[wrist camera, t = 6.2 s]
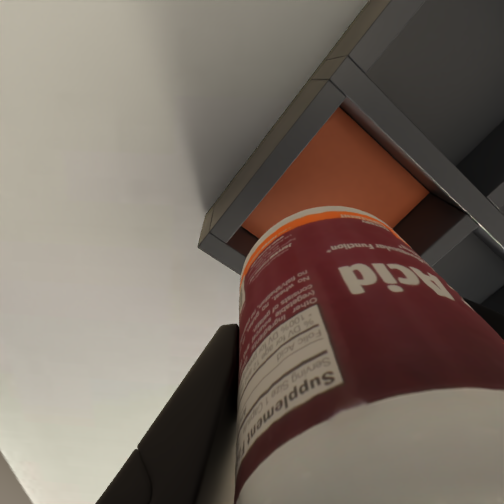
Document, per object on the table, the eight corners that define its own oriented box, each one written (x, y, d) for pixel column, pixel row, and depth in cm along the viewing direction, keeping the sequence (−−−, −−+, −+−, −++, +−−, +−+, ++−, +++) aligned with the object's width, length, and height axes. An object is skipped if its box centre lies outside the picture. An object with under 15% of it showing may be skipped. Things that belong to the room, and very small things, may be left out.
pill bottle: (439, 252, 9) (1200, 919, 2) (336, 361, 11) (522, 922, 4) (299, 165, 8) (893, 1065, 1) (209, 304, 10) (114, 966, 3)
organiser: (413, 359, 25) (442, 405, 22) (204, 216, 19) (196, 247, 16) (676, 156, 19) (781, 174, 15) (482, -149, 13) (577, -238, 9)
